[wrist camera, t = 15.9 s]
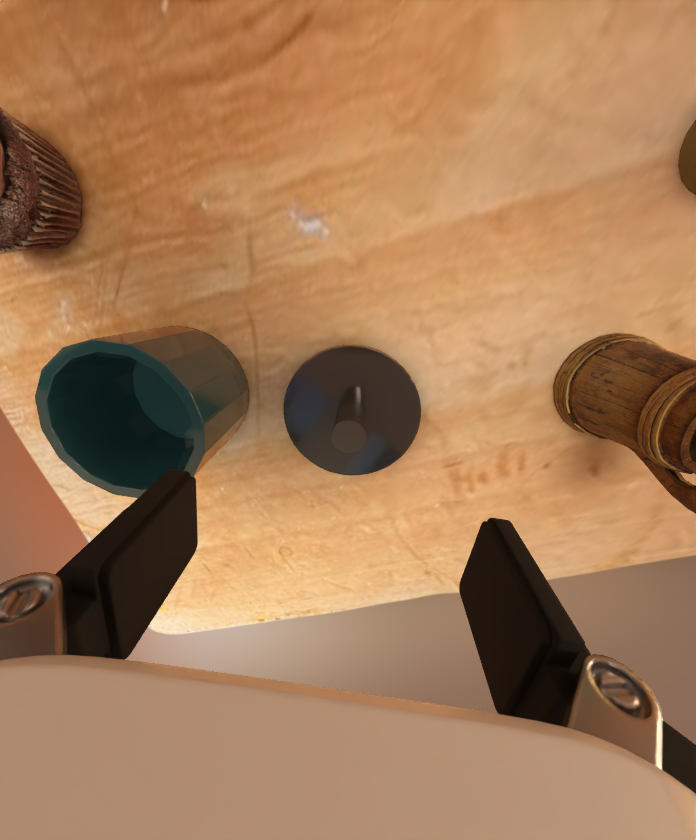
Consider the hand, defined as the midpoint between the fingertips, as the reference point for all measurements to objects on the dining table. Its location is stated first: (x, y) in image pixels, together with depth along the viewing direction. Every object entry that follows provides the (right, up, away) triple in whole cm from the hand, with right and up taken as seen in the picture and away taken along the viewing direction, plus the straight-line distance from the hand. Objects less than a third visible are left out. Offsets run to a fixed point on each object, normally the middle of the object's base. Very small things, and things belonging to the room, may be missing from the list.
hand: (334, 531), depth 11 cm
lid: (+1, +4, +20) cm, 21 cm away
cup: (-15, +7, +21) cm, 27 cm away
